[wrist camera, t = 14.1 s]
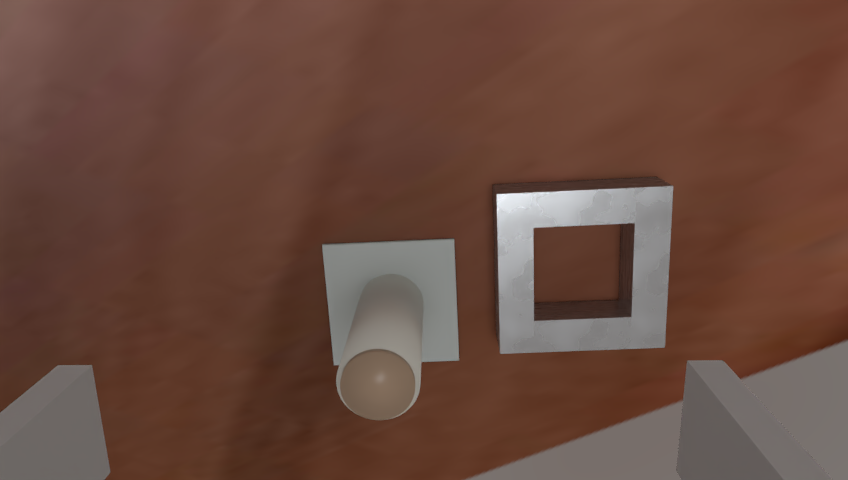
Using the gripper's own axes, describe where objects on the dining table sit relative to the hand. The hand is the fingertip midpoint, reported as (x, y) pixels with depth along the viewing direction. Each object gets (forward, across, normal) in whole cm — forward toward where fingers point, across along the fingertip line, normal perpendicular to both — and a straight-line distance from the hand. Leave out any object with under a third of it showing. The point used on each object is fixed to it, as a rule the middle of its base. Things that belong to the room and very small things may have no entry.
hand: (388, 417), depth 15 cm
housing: (+35, +11, -7) cm, 37 cm away
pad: (+35, -3, -11) cm, 37 cm away
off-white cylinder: (+35, -3, -11) cm, 36 cm away
